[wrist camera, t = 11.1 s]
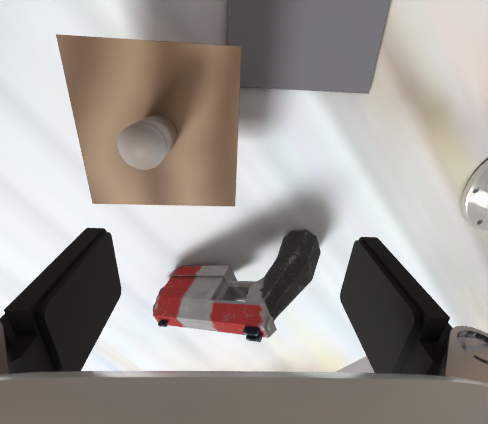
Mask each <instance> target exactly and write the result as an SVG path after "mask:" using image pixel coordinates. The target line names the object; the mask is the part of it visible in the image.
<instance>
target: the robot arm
mask: <svg viewBox="0 0 488 424" xmlns="http://www.w3.org/2000/svg"><path fill="white" fill-rule="evenodd" d="M461 207H462V213H463V215H464V217H465V219H466V220H467V221H468V222H469V223H470V224H472V225H474V226H475V227H477V228H479V229H481V230H485V231H488V160H487V161H486V162H484V163H483V164H482V165H481V166H480V167H479V168H478V169H477V170H476V172H475V173H474V174H473V175H472V177H471V178H470V180H469V181H468V183H467V185H466V187H465V189H464V193H463V196H462V203H461ZM120 295H121V284H120V279H119V274H118V268H117V263H116V258H115V252H114V247H113V241H112V236H111V234H110V233H109V232H107V231H106V230H105V229H104V228H87V229H85V230H84V231H83V232H82V233H81V234H80V235H79V236H78V237H77V238H76V239H75V240H74V241H73V242H72V243H71V244H70V245H69V246H68V247H67V248H66V249H65V250H64V251H63V252H62V253H61V254H60V255H59V256H58V257H57V258H56V259H55V260H54V261H53V262H52V263H51V264H50V265H49V266H48V267H47V268H46V269H45V270H44V271H43V272H42V273H41V274H40V275H39V276H38V277H37V278H36V279H35V280H34V281H33V282H32V283H31V284H30V285H29V286H28V287H27V288H26V289H25V290H24V291H23V292H22V293H21V294H20V295H19V296H18V297H17V298H16V299H15V300H14V301H13V302H12V303H11V304H10V305H9V306H7V307H6V308H5V309H4V312H5V314H4V315H3V316H2V317H1V318H0V424H488V334H487V333H485V332H483V331H481V330H478V329H475V328H472V327H467V326H456V327H454V328H452V327H451V326H450V325H449V323H448V321H449V319H450V317H449V316H448V315H447V314H446V313H445V312H444V311H443V310H442V309H441V307H440V306H439V305H438V304H437V303H436V302H435V301H434V300H433V299H432V297H431V296H430V295H429V294H428V293H427V292H426V291H425V290H424V289H423V288H422V286H421V285H420V284H419V283H418V282H417V281H416V280H415V279H414V278H413V277H412V275H411V274H410V273H409V272H408V271H407V270H406V269H405V268H404V267H403V265H402V264H401V263H400V262H399V261H398V260H397V259H396V258H395V257H394V256H393V254H392V253H391V252H390V251H389V250H388V249H387V248H386V247H385V246H384V244H383V243H382V242H381V241H380V240H379V239H378V238H376V237H361V238H360V239H359V240H357V241H355V242H354V245H353V249H352V253H351V256H350V260H349V264H348V267H347V271H346V274H345V278H344V282H343V285H342V289H341V293H340V299H341V303H342V305H343V307H344V309H345V311H346V313H347V315H348V318H349V320H350V322H351V324H352V326H353V328H354V330H355V332H356V334H357V336H358V338H359V341H360V343H361V345H362V347H363V349H364V351H365V353H366V355H367V357H368V359H369V361H370V364H371V366H372V368H373V370H374V372H375V373H337V372H244V371H81V369H82V367H83V366H84V364H85V362H86V360H87V358H88V356H89V354H90V352H91V351H92V349H93V347H94V345H95V343H96V341H97V339H98V337H99V336H100V334H101V332H102V330H103V328H104V326H105V324H106V322H107V321H108V319H109V317H110V315H111V313H112V311H113V309H114V307H115V306H116V304H117V302H118V300H119V298H120Z"/></svg>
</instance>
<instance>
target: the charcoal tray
mask: <svg viewBox="0 0 488 424" xmlns="http://www.w3.org/2000/svg"><path fill="white" fill-rule="evenodd" d="M389 5H390V0H228V20H227V46H240V47H241V66H240V87H256V88H274V89H293V90H312V91H330V92H349V93H368V94H369V90H370V86H371V82H372V78H373V73H374V69H375V65H376V60H377V56H378V52H379V48H380V43H381V39H382V35H383V30H384V26H385V22H386V17H387V13H388V9H389Z"/></svg>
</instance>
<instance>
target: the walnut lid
mask: <svg viewBox="0 0 488 424" xmlns="http://www.w3.org/2000/svg"><path fill="white" fill-rule="evenodd" d="M56 37H57V41H58V46H59V51H60V55H61V60H62V64H63V69H64V74H65V78H66V83H67V87H68V92H69V97H70V101H71V106H72V110H73V115H74V120H75V124H76V129H77V133H78V138H79V143H80V147H81V152H82V156H83V161H84V166H85V170H86V175H87V180H88V184H89V189H90V193H91V198H92V203H93V204H141V205H192V206H235V195H236V169H237V143H238V117H239V92H240V66H241V47H240V46H225V45H209V44H194V43H179V42H163V41H148V40H132V39H117V38H102V37H86V36H71V35H56Z"/></svg>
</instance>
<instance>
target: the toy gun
mask: <svg viewBox="0 0 488 424" xmlns="http://www.w3.org/2000/svg"><path fill="white" fill-rule="evenodd" d="M319 256H320V248H319V245H318V241H317V237H316V236H315V235H313V234H312V233H310V232H309V231H307V230H299V231H291V232H290V233H289V234H288V235H287V236H286V237H285V238H284V239H283V241H282V245H281V248H280V251H279V254H278V257H277V259H276V261H275V262H274V263H273V265H272V266H271V268H270V269H269V271H268V272H267V274H266V275H265V277H264V278H262V279H260V280H259V281H257V282H252V281H237V279H236V277H235V275H234V273H233V271H232V269H231V267H230V265H211V266H183V267H180V268H178V269H176V270H174V271H173V273H172V274H171V275H170V276H171V279H170V280H169V281H168V283H167V284H166V285H165V287H163V288H161V290H160V291H159V294H158V296H157V298H156V303H155V304H154V306H153V316H154V317H155V319H156V320H157V321H158V325H159V326H162V327H167V325H171V326H179V327H187V328H195V329H203V330H211V331H219V332H227V333H235V334H243V335H247V336H246V339H247V340H249V341H256V342H261V339H262V337H267V338H269V337H270V336H271V335H272V334H273V333H274V332H275V331H276V330H277V329H276V327H275V324H274V320H275V319H276V317H277V316H278V315H279V314H280V313H281V312H282V311H283V310H284V309H285V308H286V307H287V306H288V305H289V304H290V303H291V302H292V301H293V299H294V298H295V297H296V296H297V295H298V294H299V293H300V292H301V291H302V290H303V289H304V288H305V287H306V286H307V285H308V284H309V283H310V282H311V280H312V279H313V275H314V272H315V269H316V265H317V262H318V259H319ZM238 300H243V301H238ZM244 301H246V302H244Z"/></svg>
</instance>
